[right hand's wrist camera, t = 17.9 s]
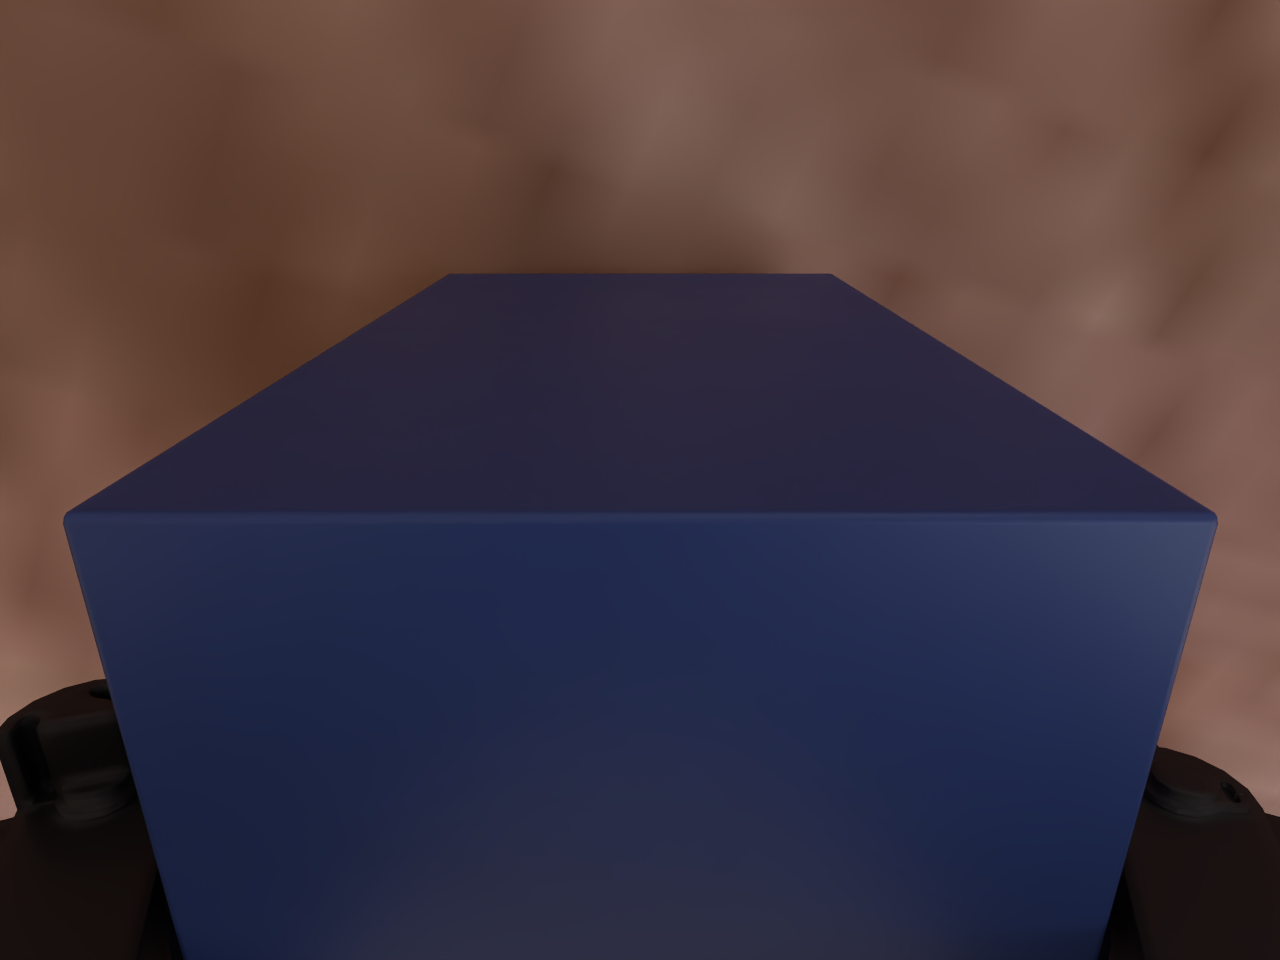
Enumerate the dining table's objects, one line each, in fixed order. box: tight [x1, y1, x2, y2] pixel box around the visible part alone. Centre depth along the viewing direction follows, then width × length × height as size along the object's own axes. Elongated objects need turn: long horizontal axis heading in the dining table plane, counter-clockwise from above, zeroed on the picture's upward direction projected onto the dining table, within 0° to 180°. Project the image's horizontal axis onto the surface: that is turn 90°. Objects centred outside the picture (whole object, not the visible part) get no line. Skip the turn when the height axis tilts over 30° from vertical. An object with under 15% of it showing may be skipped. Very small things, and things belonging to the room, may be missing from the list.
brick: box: [63, 274, 1218, 960], centre depth 11 cm, size 9×7×10 cm
